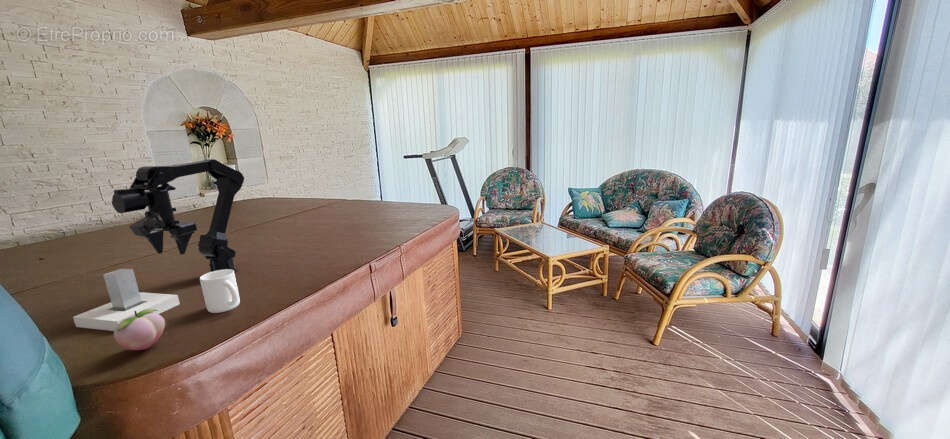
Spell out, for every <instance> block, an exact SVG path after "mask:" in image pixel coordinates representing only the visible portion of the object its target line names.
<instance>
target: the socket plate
mask: <svg viewBox="0 0 950 439" xmlns="http://www.w3.org/2000/svg"><path fill="white" fill-rule="evenodd" d="M139 293H140V297H141V301H142V304H141V305H138V306H136V307H133V308H131V309H129V310H126V311H114V310H113V306H112V303H111V301H110V302H108V303H105V304H103V305H100V306H98V307H97V306H96V307H94V308H93V309H89V310H88V311H84V312H82V313H79V314H77V315H75V316H72V318H73V321H74V325H75V327H76V328H82V329H90V330H91V329H92V330H101V331H102V330H103V331H110V332H114V330H115V328H116V326H117V325H118V324H119V323H120V322H121V321H122V320H123V319H125V318H127V317H129V316H131V315H134V314H135V313H134V311H136V313H138V312H140V311H143V310H146V309H156V310H158V311H153V313H157V314H159V315H161V314H162V313H163V312H166V311H168V310H170V309H173V308H175V307H177V306H179V305H180V300H179V295H178V294H170V293H169V294H168V293H166V294H165V293H156V292H155V293H154V292H153V293H152V292H144V291H143V292H142V291H141V292H140V291H139Z"/></svg>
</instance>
